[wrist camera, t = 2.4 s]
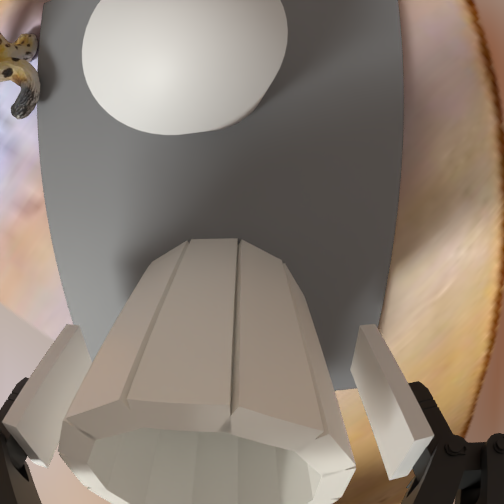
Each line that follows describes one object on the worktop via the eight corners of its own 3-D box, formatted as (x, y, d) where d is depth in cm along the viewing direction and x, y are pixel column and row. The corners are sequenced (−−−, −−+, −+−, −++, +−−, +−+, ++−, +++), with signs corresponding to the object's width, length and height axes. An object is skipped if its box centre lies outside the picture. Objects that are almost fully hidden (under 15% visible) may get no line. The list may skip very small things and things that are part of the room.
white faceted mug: (124, 240, 15) (10, 378, 6) (309, 237, 15) (388, 391, 6) (162, 412, 20) (136, 539, 11) (293, 413, 20) (313, 544, 11)
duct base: (356, 373, 21) (393, 471, 13) (102, 373, 20) (62, 465, 13) (384, -8, 12) (471, -72, 4) (56, 9, 12) (-40, -31, 4)
